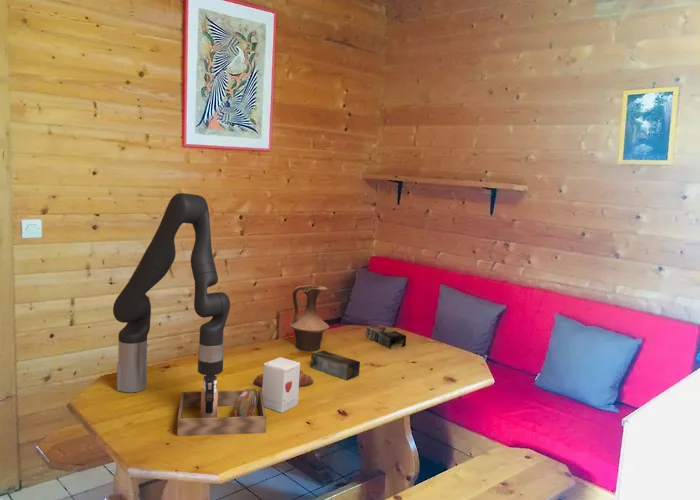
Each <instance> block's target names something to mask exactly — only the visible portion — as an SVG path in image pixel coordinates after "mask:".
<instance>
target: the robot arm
mask: <svg viewBox="0 0 700 500" xmlns="http://www.w3.org/2000/svg"><path fill="white" fill-rule="evenodd" d="M210 222H211V221H210V210H209V205H208V202H207V200H206V198H205V197H204V196H203V195H202V196H201V195H199V194H191V193H185V192H180V193H179V192H178V193H176V194H174V195H173V196H172V197H171V199H169V202H168V203H167V206H166V208H165V211H164V213H163V216H162V219H161V221H160V223H159V225H158V227H157V229H156V231H155V233H154V235H153V237H152V239H151V242H150V243H149V245H148V246H147V248H146V250H145V251H144V253H143V255H142V256H141V259H140V261H139V263H138V264H137V266H136V269H135V270H134V272H133V273H132V275H131V276H130V279H129V280H128V282H127V283H126V284H125V286H124V288H123V289H122V290H121V292H120V293H119V295H117V297H116V299H115V301H114V302H113V307H112V314H113V317H114V318H115V320H116V321H118V323H123V324H124V323H126V325H124V327H123V328H122V329H121V330H119V332H118V335H117V336H118V339H117V341H118V347H117V348H118V351H117V352H118V353H117V355H118V362H117V364H116V391H117V392H123V393H138V392H142V391H143V390H146V388H147V385H148V384H147V383H148V380H147V378H148V377H147V375H148V369H147V368H148V334H149V333H150V328H151V316H152V315H151V314H152V304H151V300H150V298H149V296H148V295H147V293H148V292H149V291H150V290H151V289H152V288H153V287H155V286H156V285H157V284H158V283H159V282H160V281H162V279H163V278H164V277H166V275H167V273H168V272H169V270H170V269H171V267H172V265H173V263H174V261H175V258H176V244H175V243H176V241H175V238H176V234H177V232H178V230H179V229H180V227H181V226H182V224H191V225H192V228H193V231H194V236H195V237H194V245H193V248H192V251H191V255H190V267H191V271H192V276H193V281H194V297H193V298H194V301H193V307H194V311H195V313H196V314H197V316H199V317H200V318H211V319H210V320H209V321H207V322H204V323H203V324H201V325H200V326H199V327H200V328H199V343H198V351H197V353H198V354H197V373H199V374H200V375H203V379H202V380H203V382H202V383H203V384H202V385H203V388H204V394H205V402H206V407H205V413H213V402H214V394H215V390H216V388H217V386H216V385H217V383H218V382H217V375H219V374H222V372H223V370H224V329H225V326H226V322H227V320H228V316H229V313H230V309H231V301H230V297H229V296H228V294H227V293H225V292H222V291H221V292H220V291H219V292H210V293H208V288H210V287H214V286H215V285H217V284H218V283H219V276H218V272H217V267H216V264H215V260H214V255H213V254H214V253H213V249H212V237H211V223H210ZM207 395H212V398H207Z"/></svg>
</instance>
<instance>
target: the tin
mask: <svg viewBox="0 0 700 500" xmlns="http://www.w3.org/2000/svg"><path fill="white" fill-rule="evenodd" d="M256 390H257V389H255V388H246V389H245V391H244V390H243V391H244V392H243V393H242V394H241V395H240V396H239V397H238V398H237V399H236V401H235V403H234V406H232V407H233V408H232V417H250V416H254V414H255V413H256V410H257V406H258V405H257V392H256Z"/></svg>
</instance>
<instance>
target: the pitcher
mask: <svg viewBox="0 0 700 500" xmlns="http://www.w3.org/2000/svg"><path fill="white" fill-rule="evenodd" d="M301 290H302V291H303V293H304V294H305V295H306V305H305V306H306V307H305V309H304V311H303V312H302V313H301V314H300V315H299V305H298V300H297V294H298V292H299V291H301ZM328 290H329V288H328V287H327V286H322V285H315V286H313V285H312V284H307V285H299V286H296V287H295V288H294V289H293V291H292V302H293V305H294V316H293V319H292V321H290V322H289V325H288V326H289V327H290V328H292V329H293V331H294V333H295V334H294V336H295V348H296V349H297V350H300V351H305V352H318V351H319V350H320V349H321V343H322V340H323V339H322V338H323V334H324V331H326V330H328V329H329V328H330V326H329V324H328V323H327V322H325V321H324V320H323V319H322V318H321V317H320V315H319V313H318V310H317V299H318V296H319V294H320V293H321V292H323V291H328Z"/></svg>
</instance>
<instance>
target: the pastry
mask: <svg viewBox="0 0 700 500" xmlns="http://www.w3.org/2000/svg"><path fill="white" fill-rule="evenodd" d="M313 383H314V379H313V378H312V376H311V375H310V374H309V375H307V374H306V373H305V372H303V371H302V370H301V369H300V376H299V388H300V387H308V386H310V385H312V384H313ZM253 385H254V386H258V387H262V386H263V373H261V374H259V375H257V376H256V377H255V378H254V379H253ZM307 385H308V386H307Z"/></svg>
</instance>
